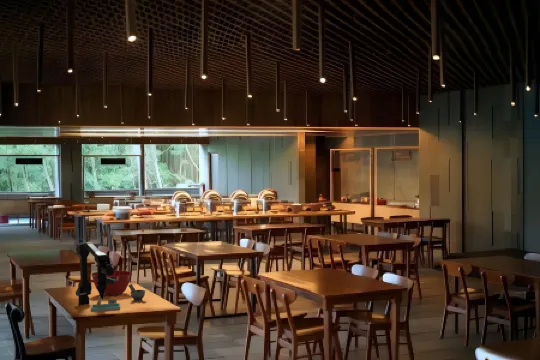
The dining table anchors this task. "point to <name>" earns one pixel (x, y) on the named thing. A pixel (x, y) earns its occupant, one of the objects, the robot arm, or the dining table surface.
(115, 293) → the mixing bowl
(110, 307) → the teal tray
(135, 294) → the mortar and pestle
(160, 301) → the dining table surface
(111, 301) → the grey cup
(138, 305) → the dining table surface
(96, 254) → the robot arm
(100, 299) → the birch pin
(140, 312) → the dining table surface
